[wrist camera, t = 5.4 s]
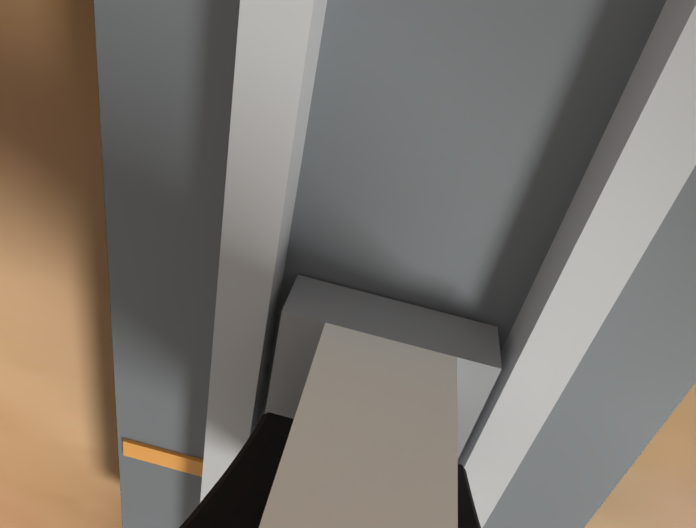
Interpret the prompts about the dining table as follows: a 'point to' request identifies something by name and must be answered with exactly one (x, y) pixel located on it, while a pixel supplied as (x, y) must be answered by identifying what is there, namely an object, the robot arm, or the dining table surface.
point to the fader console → (402, 221)
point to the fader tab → (373, 408)
